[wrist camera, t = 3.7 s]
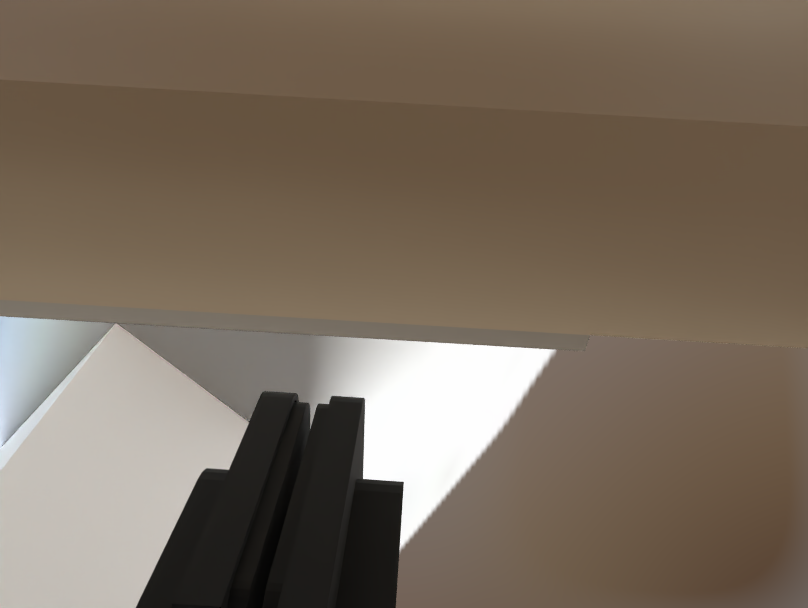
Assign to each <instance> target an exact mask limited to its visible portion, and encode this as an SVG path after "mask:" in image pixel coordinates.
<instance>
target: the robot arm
mask: <svg viewBox="0 0 808 608" xmlns="http://www.w3.org/2000/svg"><path fill="white" fill-rule="evenodd" d="M364 417H365V399H364V398H356V397H341V396H332V397H331V399H330V402H329V404H318V405H317V408H316V412H315V415H314V419H313V422H312V426H311V429H310V406H309V403H300V402H299V400H298V395H297V394H296V393H283V392H268V391H264V392H262V394H261V396H260V398H259V400H258V403H257V405H256V407H255V410H254V412H253V415H252V417H251V419H250V422H249V424H248V426H247V429H246V431H245V433H244V436H243V438H242V440H241V443H240V445H239V447H238V450H237V452H236V454H235V457H234V459H233V461H232V464H231V466H230V468H229V470H226V469H212V468H206V469H205V470H204V471H202V473H201V474H200V476H199V478H198V479H197V482H196V484H195V486H194V488H193V490H192V492H191V494H190V496H189V498H188V500H187V502H186V504H185V506H184V508H183V511H182V513H181V515H180V517H179V519H178V521H177V523H176V525H175V527H174V529H173V531H172V533H171V535H170V537H169V540H168V542H167V544H166V546H165V548H164V550H163V552H162V554H161V556H160V558H159V560H158V562H157V564H156V566H155V569H154V571H153V573H152V575H151V577H150V579H149V581H148V583H147V585H146V587H145V589H144V591H143V593H142V595H141V598H140V600H139V602H138V604H137V606H136V608H396V593H397V592H396V591H397V577H398V561H399V546H400V531H401V515H402V500H403V484H404V482H396V481H382V480H367V479H363V453H364Z"/></svg>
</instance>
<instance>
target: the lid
mask: <svg viewBox="0 0 808 608" xmlns="http://www.w3.org/2000/svg"><path fill="white" fill-rule="evenodd" d="M0 316H6V317H23V318H40V319H56V320H73V321H90V322H106V323H123V324H140V325H156V326H173V327H190V328H206V329H223V330H240V331H256V332H273V333H289V334H306V335H323V336H339V337H356V338H373V339H389V340H406V341H423V342H439V343H456V344H473V345H489V346H506V347H523V348H539V349H556V350H573V351H585V349H586V346H587V343H588V340H589V337H590V335H596V336H612V337H628V338H645V339H662V340H678V341H696V342H712V343H729V344H746V345H762V346H778V347H795V348H796V347H797V348H808V0H0Z"/></svg>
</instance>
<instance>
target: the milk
mask: <svg viewBox="0 0 808 608" xmlns="http://www.w3.org/2000/svg"><path fill="white" fill-rule="evenodd" d="M248 424H249V422H248V421H246V420H245V419H244V418H242V417H241V416H240V415H238V414H237V413H236V412H234V411H233V410H232V409H230V408H229V407H228V406H226V405H225V404H224V403H222V402H221V401H220V400H218V399H217V398H216V397H214V396H213V395H212V394H210V393H209V392H208V391H206V390H205V389H204V388H202V387H201V386H200V385H198V384H197V383H196V382H194V381H193V380H192V379H190V378H189V377H188V376H186V375H185V374H184V373H182V372H181V371H180V370H178V369H177V368H176V367H174V366H173V365H172V364H170V363H169V362H168V361H166V360H165V359H164V358H162V357H161V356H160V355H158V354H157V353H156V352H154V351H153V350H152V349H150V348H149V347H148V346H146V345H145V344H144V343H142V342H141V341H140V340H138V339H137V338H136V337H134V336H133V335H132V334H130V333H129V332H128V331H126V330H125V329H124V328H122V327H121V326H120V325H118V324H117V323H115V324H114V326H113V327H112V328H111V329H110V330H109V331H108V332H107V333H106V334H105V335H104V336H103V337H102V339H101V340H100V341H99V342H98V343H97V344H96V345H95V346H94V347H93V348H92V349H91V351H90V352H89V353H88V354H87V355H86V356H85V357H84V358H83V359H82V360H81V361H80V363H79V364H78V365H77V366H76V367H75V368H74V369H73V370H72V371H71V372H70V373H69V374H68V376H67V377H66V378H65V379H64V380H63V381H62V382H61V383H60V384H59V385H58V386H57V388H56V389H55V390H54V391H53V392H52V393H51V394H50V395H49V396H48V397H47V398H46V399H45V401H44V402H43V403H42V404H41V405H40V406H39V407H38V408H37V409H36V410H35V411H34V413H33V414H32V415H31V416H30V417H29V418H28V419H27V420H26V421H25V422H24V423H23V425H22V426H21V427H20V428H19V429H18V430H17V431H16V432H15V433H14V434H13V435H12V436H11V438H10V439H9V440H8V441H7V442H6V443H5V444H4V445H3V446H2V447H1V449H0V608H136V606H137V604H138V602H139V600H140V598H141V595H142V593H143V591H144V589H145V587H146V585H147V583H148V581H149V579H150V577H151V575H152V573H153V571H154V569H155V566H156V564H157V562H158V560H159V558H160V556H161V554H162V552H163V550H164V548H165V546H166V544H167V542H168V540H169V537H170V535H171V533H172V531H173V529H174V527H175V525H176V523H177V521H178V519H179V517H180V515H181V513H182V511H183V508H184V506H185V504H186V502H187V500H188V498H189V496H190V494H191V492H192V490H193V488H194V486H195V484H196V482H197V479H198V478H199V476H200V474H201V473H202V471H204V470H205V469H206V468H212V469H226V470H229V468H230V466H231V464H232V461H233V459H234V457H235V454H236V452H237V450H238V447H239V445H240V443H241V440H242V438H243V436H244V433H245V431H246V429H247V426H248Z"/></svg>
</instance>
